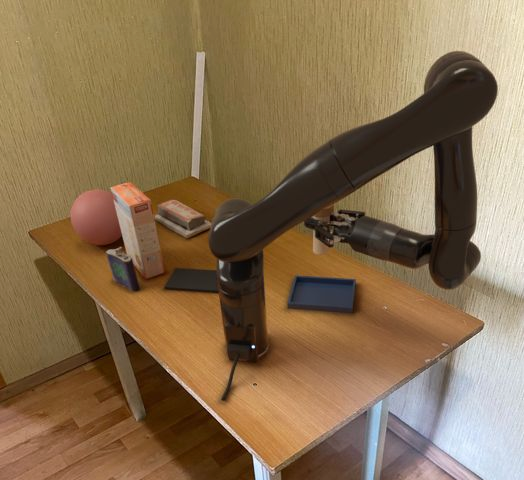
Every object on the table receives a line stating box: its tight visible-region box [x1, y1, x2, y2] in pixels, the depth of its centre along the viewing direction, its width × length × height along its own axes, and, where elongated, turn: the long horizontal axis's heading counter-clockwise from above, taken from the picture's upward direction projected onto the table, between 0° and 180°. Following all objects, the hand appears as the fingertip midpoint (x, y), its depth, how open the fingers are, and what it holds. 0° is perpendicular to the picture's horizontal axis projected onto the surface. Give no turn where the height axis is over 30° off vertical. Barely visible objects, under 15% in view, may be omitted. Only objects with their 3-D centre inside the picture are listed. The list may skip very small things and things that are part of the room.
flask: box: [105, 246, 141, 292], centre depth 134 cm, size 9×3×11 cm, turn 50°
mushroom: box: [312, 203, 335, 256], centre depth 117 cm, size 5×5×13 cm
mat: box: [164, 267, 219, 294], centre depth 136 cm, size 9×20×1 cm, turn 78°
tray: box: [286, 274, 357, 314], centre depth 128 cm, size 12×15×2 cm
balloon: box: [70, 188, 123, 246], centre depth 152 cm, size 15×20×15 cm
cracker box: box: [110, 181, 166, 280], centre depth 137 cm, size 14×6×21 cm, turn 31°
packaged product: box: [154, 199, 212, 240], centre depth 160 cm, size 18×5×10 cm
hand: (311, 217), depth 117 cm, fingers closed on mushroom, 3 cm apart
